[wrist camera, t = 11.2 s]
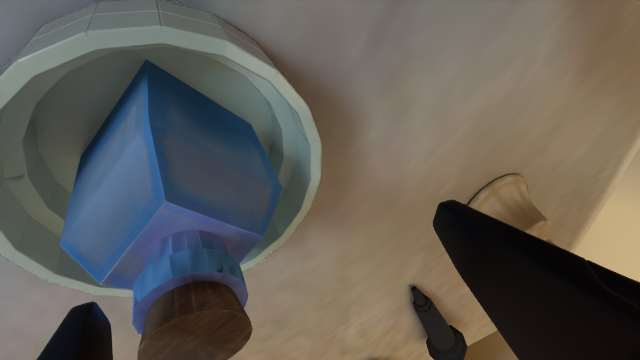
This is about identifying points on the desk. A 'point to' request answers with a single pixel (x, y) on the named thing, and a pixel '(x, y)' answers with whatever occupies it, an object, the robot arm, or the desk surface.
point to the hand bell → (512, 206)
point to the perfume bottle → (173, 215)
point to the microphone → (438, 330)
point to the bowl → (100, 98)
